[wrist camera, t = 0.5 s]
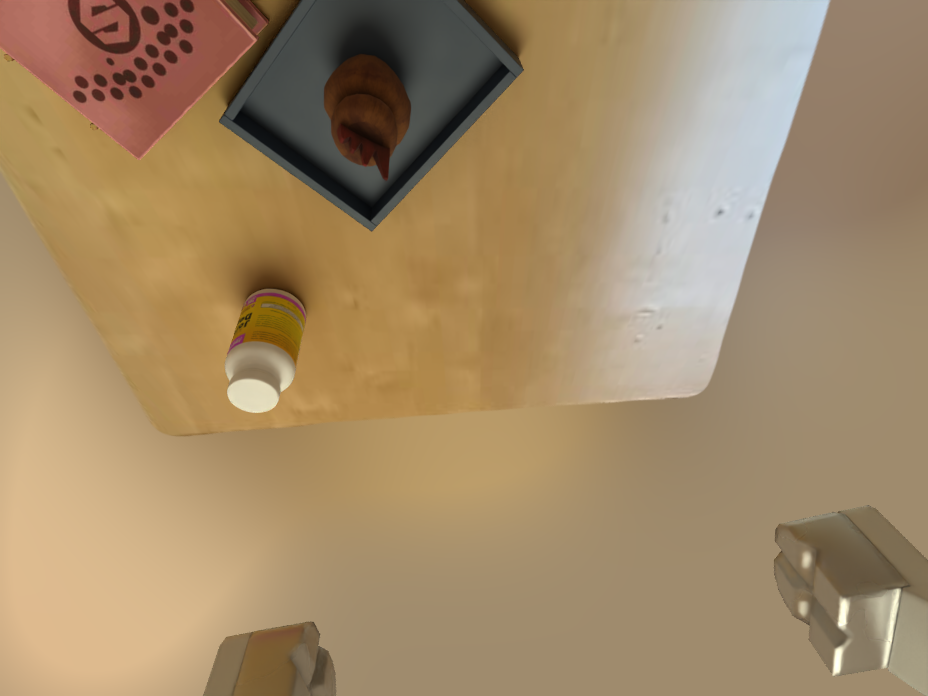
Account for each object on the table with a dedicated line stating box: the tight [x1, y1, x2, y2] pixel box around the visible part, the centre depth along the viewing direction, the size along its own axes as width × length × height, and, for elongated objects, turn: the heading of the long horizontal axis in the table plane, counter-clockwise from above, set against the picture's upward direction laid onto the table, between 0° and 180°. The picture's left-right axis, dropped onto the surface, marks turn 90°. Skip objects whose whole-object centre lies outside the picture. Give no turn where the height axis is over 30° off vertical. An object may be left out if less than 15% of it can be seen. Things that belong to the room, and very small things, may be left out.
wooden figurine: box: [324, 54, 411, 181], centre depth 45 cm, size 7×6×15 cm
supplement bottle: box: [225, 289, 306, 413], centre depth 61 cm, size 7×7×13 cm
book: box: [0, 0, 269, 160], centre depth 44 cm, size 14×15×5 cm
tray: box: [219, 0, 524, 231], centre depth 50 cm, size 20×16×3 cm
